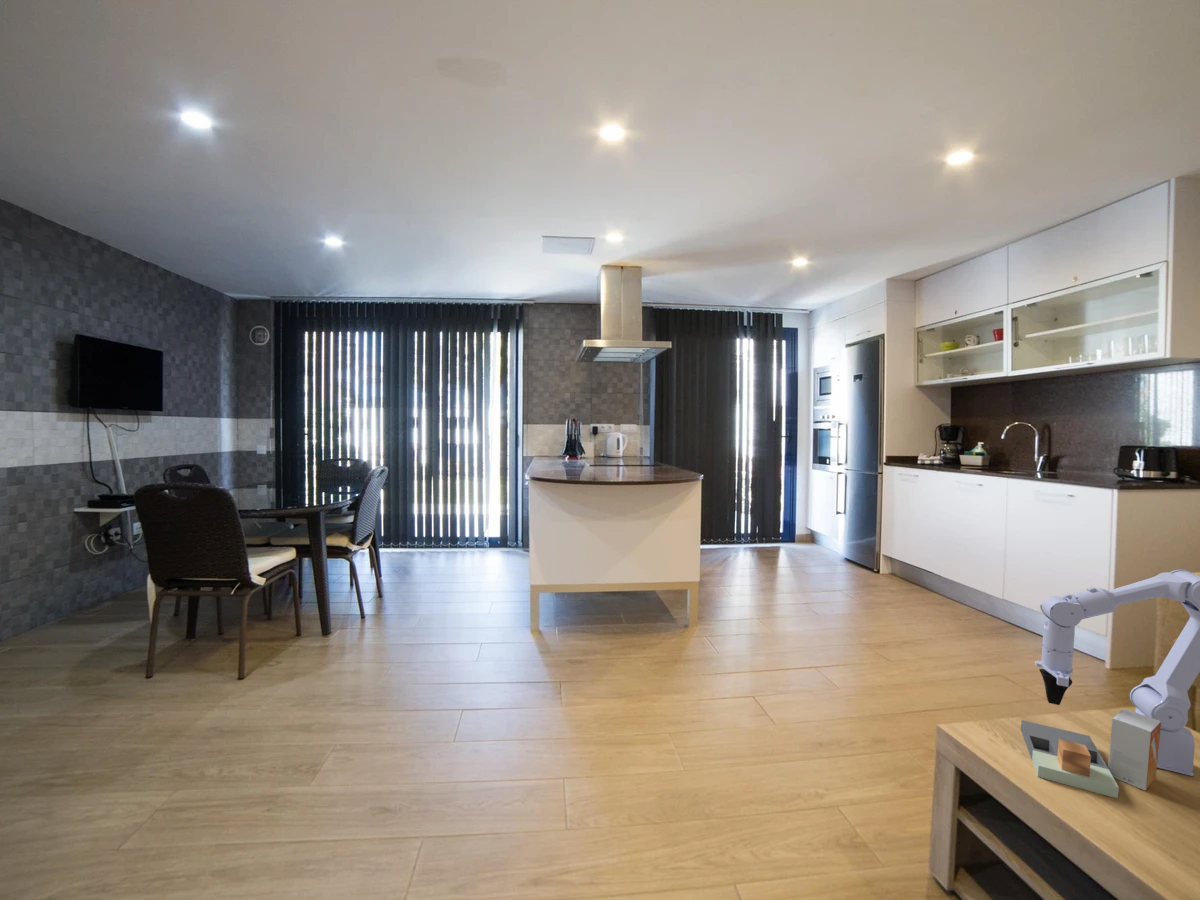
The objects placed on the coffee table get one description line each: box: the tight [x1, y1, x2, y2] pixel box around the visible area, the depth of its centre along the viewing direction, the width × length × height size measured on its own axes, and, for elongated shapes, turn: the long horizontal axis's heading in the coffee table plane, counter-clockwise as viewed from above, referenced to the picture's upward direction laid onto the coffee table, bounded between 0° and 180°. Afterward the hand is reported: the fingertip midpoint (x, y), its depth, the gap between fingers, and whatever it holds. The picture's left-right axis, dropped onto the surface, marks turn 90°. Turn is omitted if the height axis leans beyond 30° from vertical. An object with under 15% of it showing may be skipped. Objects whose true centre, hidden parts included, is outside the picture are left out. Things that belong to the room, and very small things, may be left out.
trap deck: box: [1020, 719, 1120, 799], centre depth 124 cm, size 13×21×2 cm, turn 150°
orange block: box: [1057, 739, 1091, 777], centre depth 118 cm, size 4×4×4 cm
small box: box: [1107, 708, 1161, 791], centre depth 119 cm, size 8×6×13 cm
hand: (1053, 702), depth 132 cm, fingers closed
